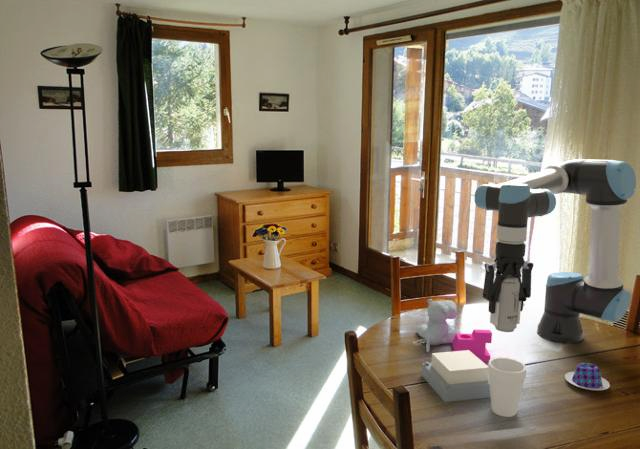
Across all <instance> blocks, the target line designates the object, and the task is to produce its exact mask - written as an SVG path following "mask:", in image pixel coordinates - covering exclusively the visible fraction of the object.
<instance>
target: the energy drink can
mask: <svg viewBox="0 0 640 449" xmlns="http://www.w3.org/2000/svg"><path fill="white" fill-rule="evenodd" d="M501 275H502V274H501ZM519 289H520V283H519V281H518V278H516V277H514V276H512V275H509V276H507V278H506V279H505V280H504V281H503V282H502V284H501V291H500V294H499V297H498V300H497V302H499V303H500V304H499V317H498V326H495V325H493V326H494V329H495V330H497V331H499V332H502V333H512V332H514V331H515V330H516V329H517V325H518V324H517V314H518V301H519Z"/></svg>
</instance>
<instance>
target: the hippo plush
mask: <svg viewBox="0 0 640 449" xmlns="http://www.w3.org/2000/svg"><path fill="white" fill-rule="evenodd" d="M426 302H427V303H428V307H427V310H426V311H427V316H428V320H427V324H426V323H422V324H421V323H420V325H419V326H418V327H417V328H416V333H417V335H418V334H419V335H418V336H419V337H420V339H418V340H415V341H412V345H413V344H414V343H420V344H419V345H422V344H421V343H423V344H425V343H426V344H425V345H426V346H425V347H426V348H425V349H426V351H425V352H426V353H429V352H430V348H431V346H433V347H434V346H439V345H445V344H447V345H449V344H452V342H453V340H454V337H455V335H456V333H461V331H460V330H459V329H458V328H455V327H454V326H452V325H450V324H449V323H448V322H447V320H454V319H456V318H457V316H458V306H457V304H456V303H455V302H454V301H453V300H450V299H447V300H439V301H433V299H432V298H430V299H429V298H428V299H427V301H426ZM414 345H415V344H414Z"/></svg>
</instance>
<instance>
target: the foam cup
mask: <svg viewBox="0 0 640 449" xmlns="http://www.w3.org/2000/svg"><path fill="white" fill-rule="evenodd" d="M487 366H488V372H489V382H490V395H491V397H490V406H491V411H492V412H493V413H494V414H495V415H497V416H500V417H504V418H506V417H507V418H511V417H515V416H516V415H517V412H518V409H519V404H520V399H521V395H522V392H523V391H522V390H523V387H524V383H525V380H526V377H527V376H526V375H527V365H525V363H524V362H522V361H519V360H517V359H515V358H510V357H504V356H501V357H500V356H498V357H493V358H490V360H489V363H488V365H487Z"/></svg>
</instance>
